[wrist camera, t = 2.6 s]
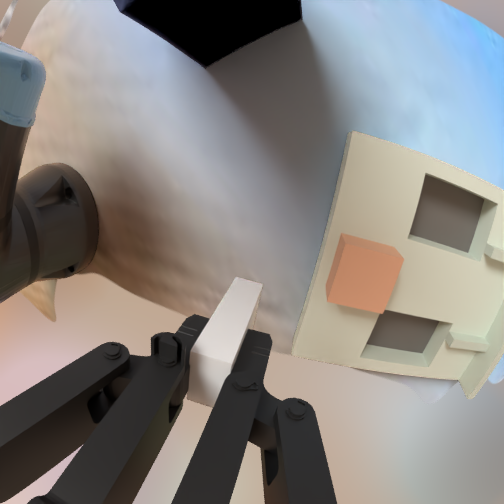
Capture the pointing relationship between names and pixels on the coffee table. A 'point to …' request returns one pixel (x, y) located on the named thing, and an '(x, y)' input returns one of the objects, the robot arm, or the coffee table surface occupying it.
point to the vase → (211, 23)
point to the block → (363, 274)
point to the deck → (413, 268)
